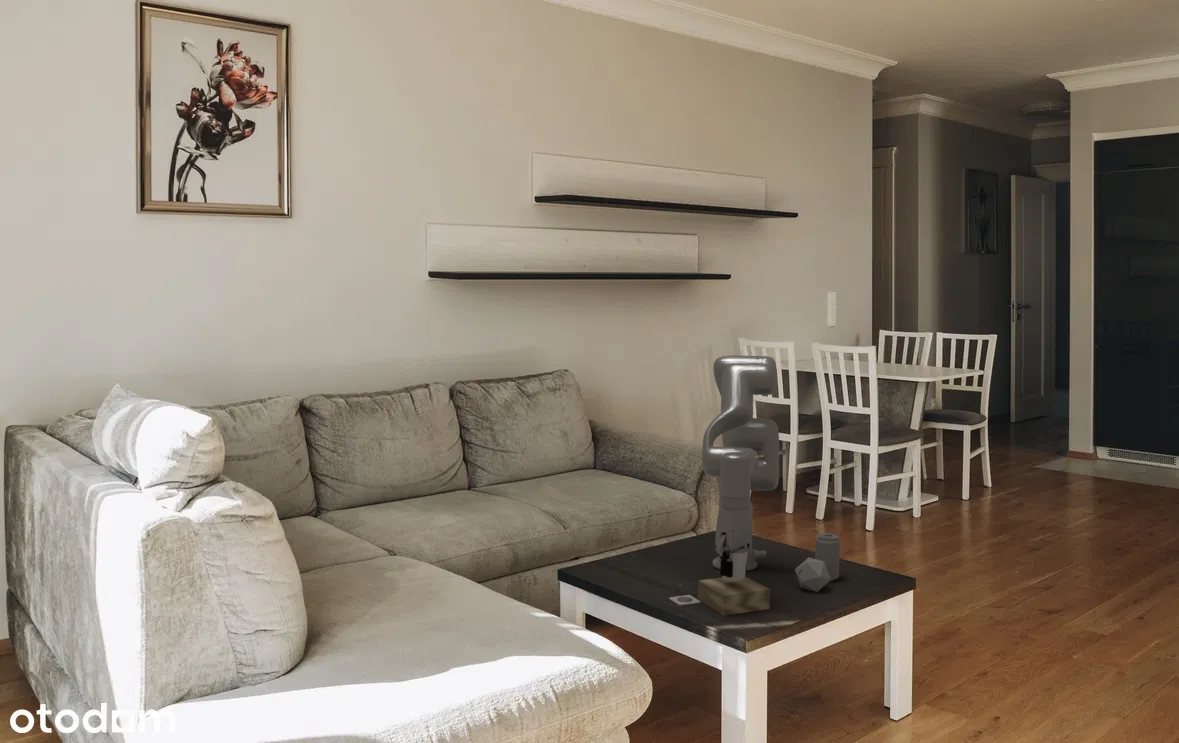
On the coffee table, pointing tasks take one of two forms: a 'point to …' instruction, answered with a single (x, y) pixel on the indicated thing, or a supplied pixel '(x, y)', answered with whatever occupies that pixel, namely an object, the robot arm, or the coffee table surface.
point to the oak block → (733, 595)
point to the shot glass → (738, 563)
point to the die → (812, 574)
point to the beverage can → (828, 553)
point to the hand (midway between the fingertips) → (733, 572)
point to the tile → (684, 600)
